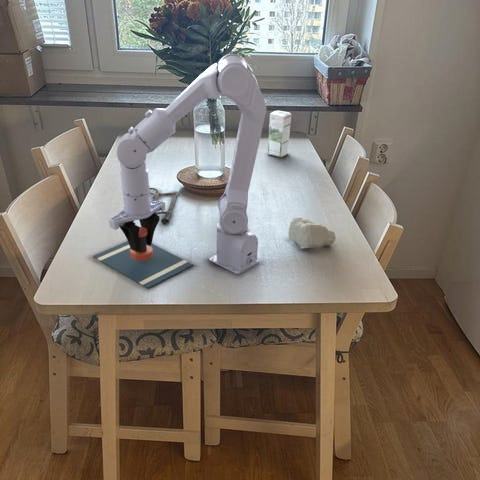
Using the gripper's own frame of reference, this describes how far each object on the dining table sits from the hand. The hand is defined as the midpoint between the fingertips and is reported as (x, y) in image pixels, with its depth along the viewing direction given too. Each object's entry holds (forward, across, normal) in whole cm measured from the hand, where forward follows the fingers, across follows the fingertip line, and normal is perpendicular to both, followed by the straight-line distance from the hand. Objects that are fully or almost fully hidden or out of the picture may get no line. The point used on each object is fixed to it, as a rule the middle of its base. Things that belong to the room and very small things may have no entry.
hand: (141, 246), depth 118 cm
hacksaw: (+4, -23, -21) cm, 31 cm away
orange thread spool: (+2, 0, 0) cm, 2 cm away
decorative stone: (+4, -36, +24) cm, 43 cm away
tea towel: (+4, 0, 0) cm, 4 cm away
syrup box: (+4, -84, -24) cm, 87 cm away
